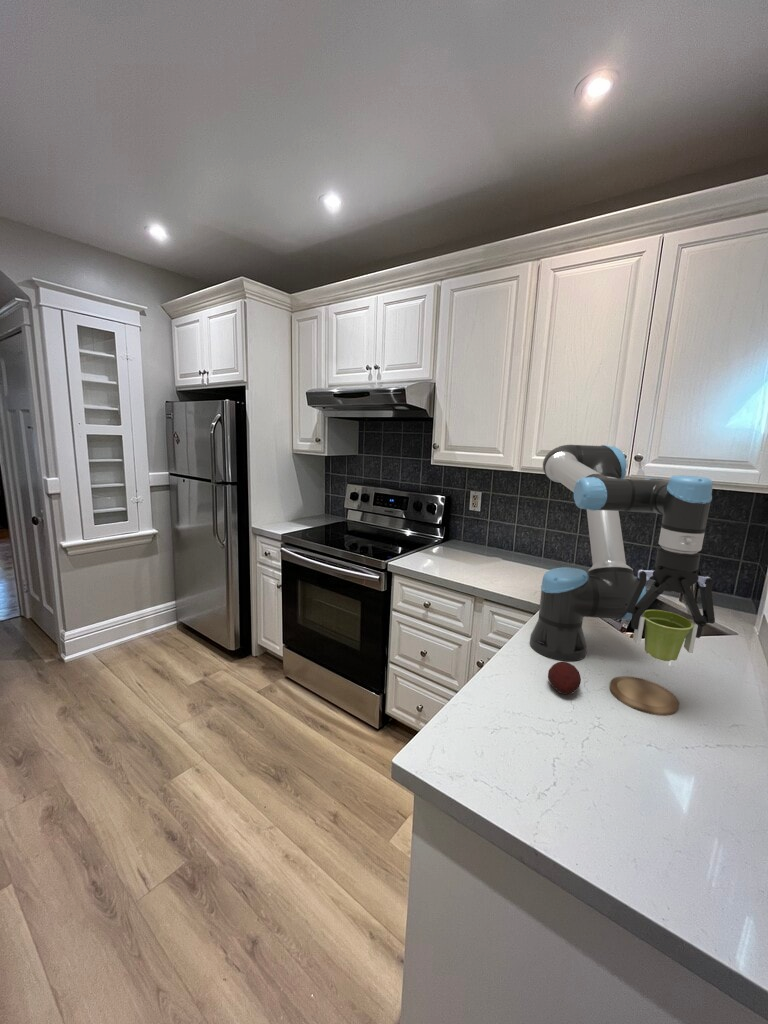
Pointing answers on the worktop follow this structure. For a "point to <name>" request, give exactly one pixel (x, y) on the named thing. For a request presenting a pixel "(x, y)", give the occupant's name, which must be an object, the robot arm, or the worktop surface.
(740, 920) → the worktop surface
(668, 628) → the plant pot
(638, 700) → the plate
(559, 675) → the potato
